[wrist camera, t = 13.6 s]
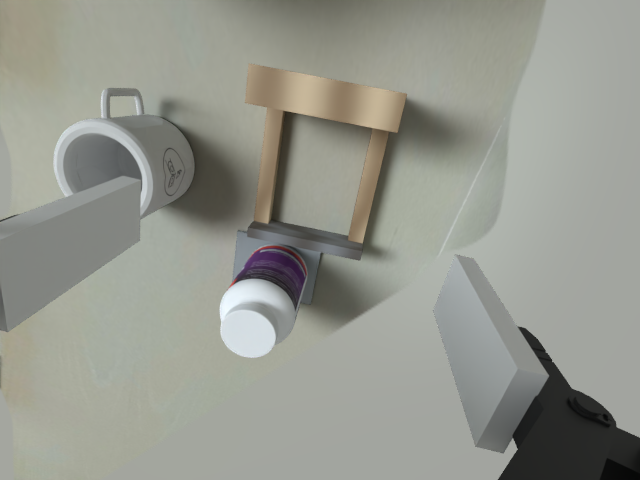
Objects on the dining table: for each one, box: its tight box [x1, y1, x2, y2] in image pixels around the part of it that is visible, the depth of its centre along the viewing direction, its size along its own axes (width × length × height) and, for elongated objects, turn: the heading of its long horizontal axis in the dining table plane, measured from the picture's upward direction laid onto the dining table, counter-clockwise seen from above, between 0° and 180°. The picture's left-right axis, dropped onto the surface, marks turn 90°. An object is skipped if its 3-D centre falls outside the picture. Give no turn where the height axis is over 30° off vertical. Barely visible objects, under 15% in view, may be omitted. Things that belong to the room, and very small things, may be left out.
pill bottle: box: [220, 244, 308, 358], centre depth 43 cm, size 8×8×14 cm
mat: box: [232, 230, 321, 305], centre depth 50 cm, size 11×8×1 cm
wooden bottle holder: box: [245, 64, 407, 260], centre depth 40 cm, size 14×18×10 cm
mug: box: [54, 88, 195, 219], centre depth 41 cm, size 14×11×10 cm
